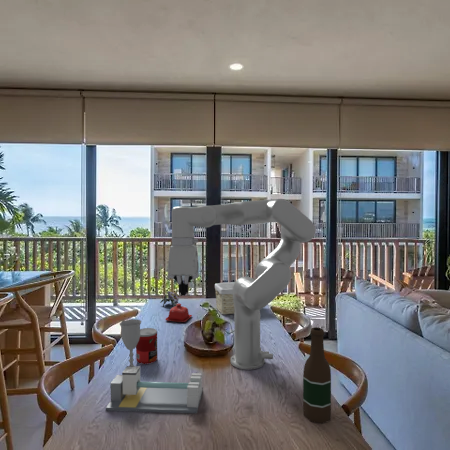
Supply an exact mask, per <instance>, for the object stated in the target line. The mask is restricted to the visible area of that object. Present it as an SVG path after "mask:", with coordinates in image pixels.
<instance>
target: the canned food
mask: <svg viewBox="0 0 450 450" xmlns="http://www.w3.org/2000/svg"><path fill="white" fill-rule="evenodd" d="M135 354H136V355H135V358H136V362H137V363H138V364H140V365H141V364H142V365H149V364H154V363H155V362H156V361H157V360H158V329H156V328H152V327H147V328H146V327H144V328H143V327H142V328H140V338H139V341H138V343H137V345H136V348H135Z"/></svg>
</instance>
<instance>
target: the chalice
mask: <svg viewBox="0 0 450 450" xmlns="http://www.w3.org/2000/svg"><path fill="white" fill-rule="evenodd" d="M141 324H142V320H140V319H127V320H126V319H125V320H122V321H121V322H120V323H119V326H120V329H121V341H122V343H123V345H124V347H125V348H126V350H129V354H128V357H129V359H128V362H129V366H135V365H134V361H135V359H134V352H133V351H134V349H135V350H136V345H137V343H138V341H139V338H140V329H141Z"/></svg>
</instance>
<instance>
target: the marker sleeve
mask: <svg viewBox="0 0 450 450" xmlns="http://www.w3.org/2000/svg"><path fill="white" fill-rule="evenodd" d="M121 375H122V381H123V394H128V395H136V394H137V392H138V391H139V389H140V388H139V387H137V382H141V366H140V365H139V366H136V365H134V366H130V365H128V366H126V367H125V368H124V369H123V371H122V373H121Z"/></svg>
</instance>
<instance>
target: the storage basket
mask: <svg viewBox="0 0 450 450" xmlns="http://www.w3.org/2000/svg"><path fill="white" fill-rule="evenodd" d="M235 282H236V281H235ZM235 282H234V281H233V282H232V281H231V282H230V281H229V282H219V283H215V284H214V289H215V299H216V300H215V301H216V304H215V305H216V309H217V310H218V311H219V313H220V314H221V315H223V316H224V315H225V316H226V315H234V302H233V286H234V283H235Z"/></svg>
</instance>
